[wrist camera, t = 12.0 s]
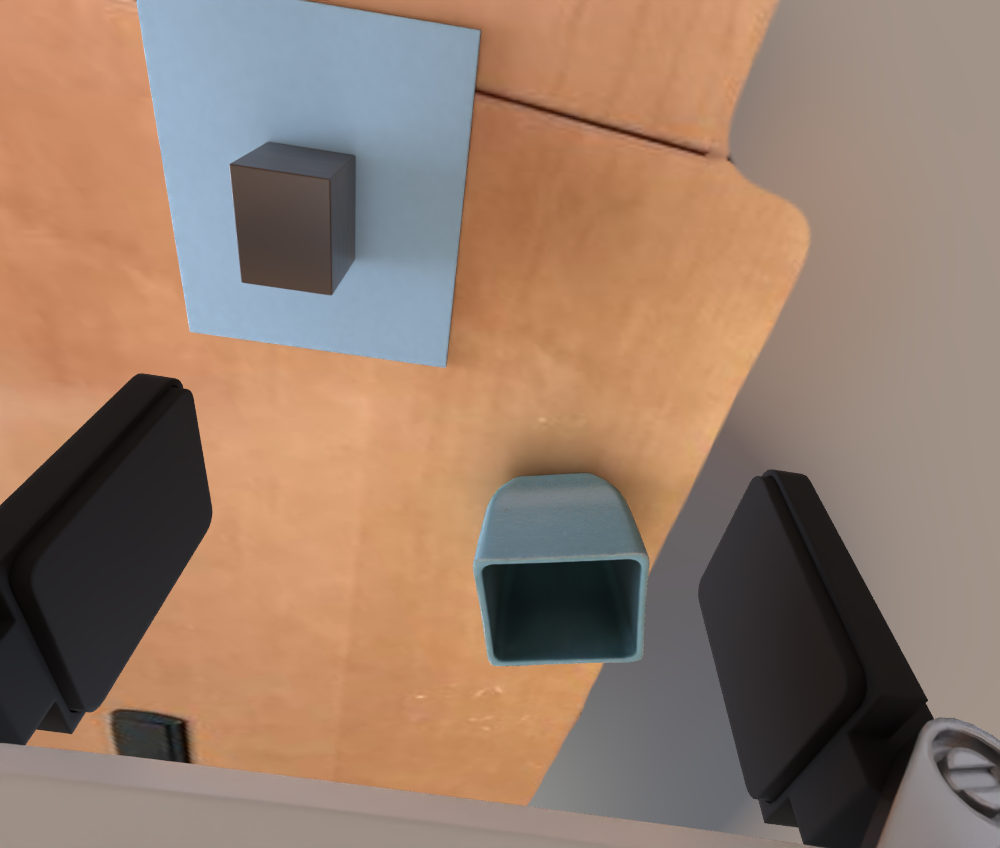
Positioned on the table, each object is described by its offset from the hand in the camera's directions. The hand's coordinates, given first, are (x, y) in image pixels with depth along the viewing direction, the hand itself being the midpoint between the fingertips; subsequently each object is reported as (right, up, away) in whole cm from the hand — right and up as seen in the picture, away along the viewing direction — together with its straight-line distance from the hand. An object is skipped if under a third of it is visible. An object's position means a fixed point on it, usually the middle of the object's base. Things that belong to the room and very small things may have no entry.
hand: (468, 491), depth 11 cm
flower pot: (+4, -4, +30) cm, 30 cm away
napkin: (-8, +12, +19) cm, 24 cm away
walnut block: (-8, +12, +19) cm, 24 cm away
